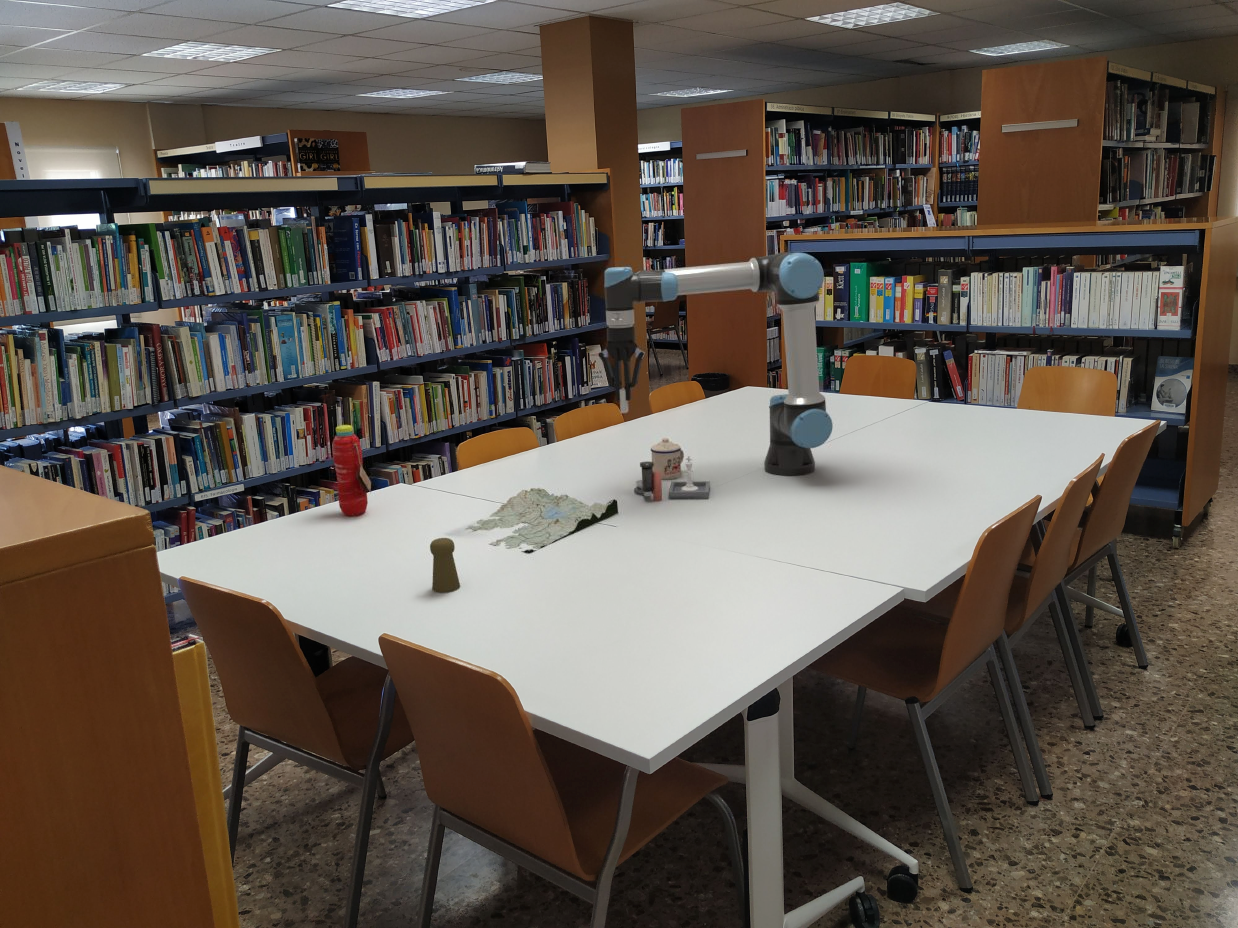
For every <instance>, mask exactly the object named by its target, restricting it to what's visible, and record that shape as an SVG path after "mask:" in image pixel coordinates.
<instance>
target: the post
mask: <svg viewBox="0 0 1238 928" xmlns="http://www.w3.org/2000/svg"><path fill="white" fill-rule="evenodd" d="M662 489H663V488H662V479H661V471H653V494H652V497H653V498H652V499H653V501H655V502H660V501H663V490H662Z"/></svg>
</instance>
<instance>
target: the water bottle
mask: <svg viewBox="0 0 1238 928" xmlns="http://www.w3.org/2000/svg"><path fill="white" fill-rule="evenodd" d="M335 432H336V435H335V436H334V438H333V441H332V443H331V445H332V446H331V447H332V451H331V452H332V458H333V459H332V460H333V464H334V469H335V472H336V481H337V483H336V484H337V499H338V500H337V501H338V505H339V509H340V510H341V512H342V514H344V515H345V516H347V517H354V516H355V517H356V516H361V515H363V514H364V513H366V510H367V507H368V503H369V502H368V492H369V493H370V494H371V493H372V492H371V491H372V490H371V489H372V481H371V479H370V478H369V476H368V475H367V473H366V471H365V469H364V468H363V467H364V466H363V454H362V453H363V452H362V446H361V442H360V439H359V437H358V436H357V435H356V434H355V433H354V428H353V426H352V425H350V424H341V425H338V426H336V427H335Z"/></svg>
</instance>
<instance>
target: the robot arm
mask: <svg viewBox="0 0 1238 928" xmlns="http://www.w3.org/2000/svg"><path fill="white" fill-rule="evenodd" d="M824 279H825V275H824V269H823V267H822V264H821V262H820V261H818V259H817V258H815V257H814V256H812V255H810V254H808V253H805V252H789V251H785V252H784V251H783V252H778V253H774V254H770V255H765V256H759V257H758V256H757V257H751V258H750V259H749V261H747V262H746V261H745V262H744V261H743V262H742V261H741V262H731V263H721V264H710V265H698V266H687V267H676V268H665V269H655V270H654V269H653V270H648V269H647V270H646V269H644V270H639V271H638V272H636V273H634V272H633V268H632V267H630V266H621V267H620V266H618V267H617V266H616V267H608V268H607V269H606V270H604V285H603V286H604V299H605V317H606V318H605V319H606V326H608V327H607V328H606V338H607V339H606V340H607V341H606V342H607V343H606V345H605V348H604V350H601V352H599V353H598V355H597V356H598V357H599V359H600V360H601V361H602V365H603V368H604V371H605V376H606V380H607V384H608V385H609V387H610V388H614V389H615V394H616V401H619V405H620V407H619V408H620V409H619V410H620V414H627V413H628V412H629V402H630V401H631V400H632V388H634V387H636V386H637V385H638V382H639V378H640V372H641V367H642V362H643V359H644V358H645V355H646V351H645V350H641V349H640V348H638V344H637V343H636V330H635V329H636V328H635V326H634V324H635V307H634V304H635V303H652V302H653V303H655V302H667V301H674V300H676V299H677V297H678V296H683V295H685V296H686V295H695V294H704V293H705V294H706V293H707V294H708V293H718V292H729V291H740V290H751V291H752V292H753V293H756V292H757V293H758V292H769V293H775V300H776V306H777V307H778V308H779V309H780V310H781V311H782V318H783V319H782V320H783V333H784V334H783V335H784V345H785V346H784V347H785V348H784V349H785V360H786V362H785V363H786V364H785V365H786V375H787V377H786V378H787V390H788V393H786V394H785V393H783V394H776V395H773V396H771V397H770V399H769V406H768V408H769V447H768V450H767V453H766V456H765V459H764V462H763V463H764V464H763V465H764V467H763V468H764V469H763V470H764V471H765V472H767V473H770V474H772V475H779V476H781V475H782V476H799V475H806V474H810V473H813V472H815V470H816V461H815V458H814V454H813V452H812V449H815V448H818V447H820V446H822V445H824V444H825V443H826V442H827V441H828V439H829V438H830V437H831V435H832V432H833V421H832V417H831V416H830V415H829V413H828V412H827V403H826V396H824V395H823V394H822V393H821V392H820V382H819V379H820V378H819V366H818V365H819V364H818V351H817V350H818V349H817V348H818V347H817V334H816V333H817V330H816V320H815V319H816V318H815V317H816V316H815V307H816V306H817V305H818V304H819V302H820V290H821V288H822V287H823V283H824ZM634 354H635V355H634ZM609 356H610V357H611V358H612V359H613V365H614V373H613V369H612V365H611V362H610V359H609ZM633 356H635V358H636V359H635V362H634V367H633V372H632V374H631V359H632V357H633ZM622 365H623V374H622ZM622 375H623V376H622ZM623 377H624V379H623ZM622 380H624V381H622ZM623 382H624V385H623ZM623 386H624V387H623Z"/></svg>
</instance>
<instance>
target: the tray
mask: <svg viewBox="0 0 1238 928" xmlns="http://www.w3.org/2000/svg"><path fill="white" fill-rule="evenodd" d="M710 482H711V481H710V480H704V481H703V480H702V481H701V480H699V481H697V480H696V481H695V480H694V481H693V480H692V483H693V485H694V486H696V487H698V490H699V491H681V488H682V487H684V486H686V484H687V480H686V481H685V480H684V481H671V482H670V485H669V488H668V493H667V495H668V500H709V498H710V491H711V490H710V489H711V486H710V485H711V483H710Z"/></svg>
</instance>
